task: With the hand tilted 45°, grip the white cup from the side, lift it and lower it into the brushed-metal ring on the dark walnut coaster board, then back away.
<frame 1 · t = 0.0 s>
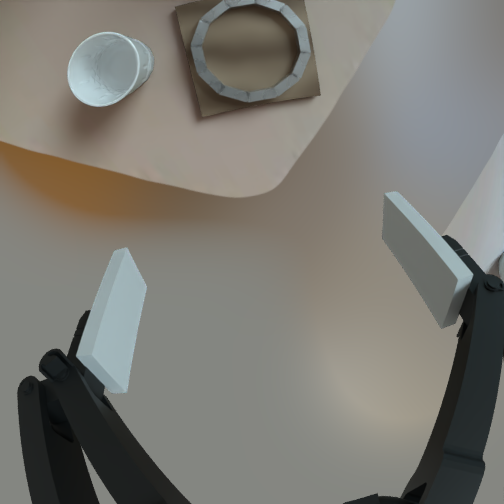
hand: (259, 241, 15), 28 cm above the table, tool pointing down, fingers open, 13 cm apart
ring holder: (249, 47, 32), on the table
white cup: (129, 64, 32), on the table
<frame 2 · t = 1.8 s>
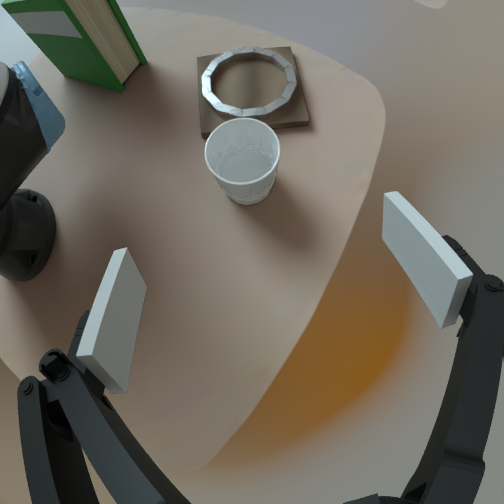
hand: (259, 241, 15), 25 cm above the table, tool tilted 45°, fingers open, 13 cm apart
ring holder: (249, 89, 43), on the table
white cup: (247, 181, 41), on the table
hardback book: (102, 68, 46), on the table
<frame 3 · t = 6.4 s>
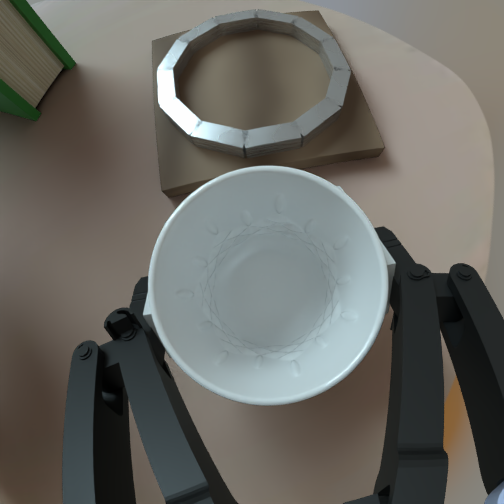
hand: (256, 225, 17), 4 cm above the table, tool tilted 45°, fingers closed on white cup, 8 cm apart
ring holder: (254, 88, 22), on the table
white cup: (270, 291, 20), on the table, touching gripper
hardback book: (18, 85, 25), on the table
when the fingers open (6 cm above the table, at t = 12.2 s): white cup stays where it is, resting on ring holder.
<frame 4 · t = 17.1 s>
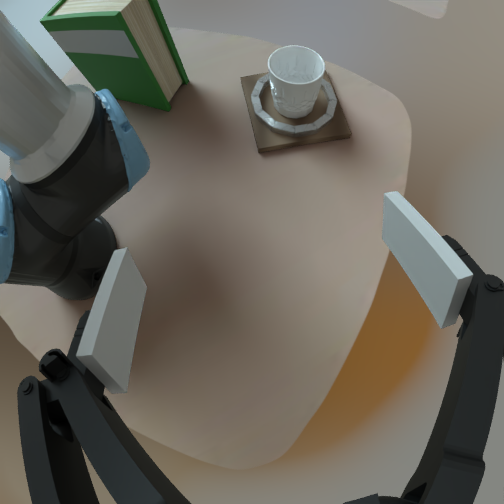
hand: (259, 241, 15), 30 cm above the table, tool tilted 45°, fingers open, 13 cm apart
ring holder: (293, 107, 48), on the table
white cup: (293, 103, 47), point 1 cm above the table, touching ring holder
hardback book: (142, 87, 52), on the table
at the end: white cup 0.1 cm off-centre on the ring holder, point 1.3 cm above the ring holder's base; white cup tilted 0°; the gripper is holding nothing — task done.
